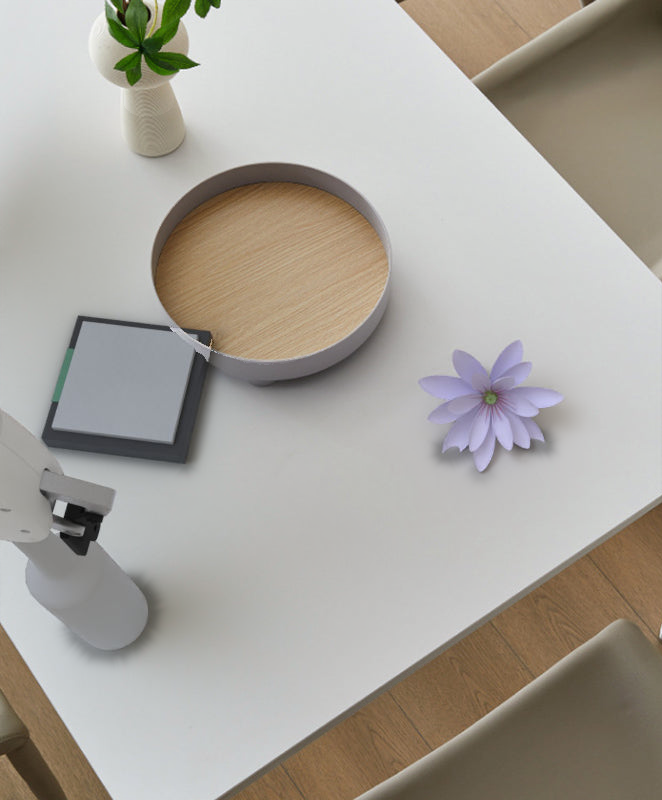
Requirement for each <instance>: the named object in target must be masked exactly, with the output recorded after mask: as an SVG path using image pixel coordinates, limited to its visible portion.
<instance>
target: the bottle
mask: <svg viewBox="0 0 662 800" xmlns="http://www.w3.org/2000/svg"><path fill="white" fill-rule="evenodd" d="M8 542H9V543H12V544H13V545H14V546H15V547H16V548H17V549H18V550H19V551H20V552H21V553H22V554H23V555H25V556H26V558H27V562H26V566H25V569H24V579H25V580H24V581H25V585H26V587H27V590H28V592H29V594H30V595H31V596H32V597H33V598H34V600H35V601H37V603H39V604H40V606H42V607H43V608H44V609H45V610H47V611H48V612H49V613H50V614H51V615H53V616H54V618H56V619H57V620H59V622H61V623H62V624H63V625H65V626H66V627H67V628H68V629H70V631H72V632H73V633H74V634H76V635H77V636H78V637H79V638H80V639H82V640H83V641H84V642H85V643H87V644H88V645H90V646H91V647H93V648H95V649H98V650H102V651H117V650H121V649H123V648H125V647H128V646H129V645H131V644H132V643H133V642H135V641H136V640H137V639H138V638H139V637H140V635H141V634H142V633H143V631H144V630H145V627H146V625H147V623H148V619H149V604H148V601H147V598H146V597H145V595H144V593H143V591H142V590H141V589H140V588H139V587H138V585H137V584H136V583H135V581H133V580H132V578H130V576H129V575H128V574H127V573H126V572H125V570H123V568H122V567H121V566H120V565H119V564H118V563H117V562H116V561H115V560H114V559H113V557H112V556H110V554H109V553H108V552H107V551H106V550H105V549H104V548H103V546H102V545H101V544H100V543H99V542H98V541H97V540H96V541H90V544H89V548H88V552H87V554H86V556H79V555H76V554H75V553H74V552H73V551H72V550H71V549H70V548H69V547H68V546H67V545H66V543H65V542H64V541H63V540H62V539H61V538H60V532H56V533H54V532H53V531H52V529H51V530H50V532H49V535H48V537H46V538H45V539H43V540H41V541H38V542H31V543H26V542H14V541H8Z"/></svg>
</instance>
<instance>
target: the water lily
mask: <svg viewBox="0 0 662 800" xmlns="http://www.w3.org/2000/svg"><path fill="white" fill-rule="evenodd" d="M523 358H524V346H523V342H522V341H521V339H516V340H514V341H512V342H510V343H509V344H508V345H507V346H505V348H504V349H503V350H502V351H501V352H500V354H499V355H498V357H497V358H496V360H495V362H494V363H493V365H492V367H491V370H490V374H489V376H488V372H487V370H486V368H485V367H484V366H483V365H482V363H481V362H480V361H479V360H478V359H477V358H476V357H475V356H473V355H472V354H471V353H469V352H467V351H465V350H462V349H457V348H456V349H454V350H453V351H452V355H451V360H452V365H453V368H454V370H455V372H456V373H457V375H458V376H455V375H445V374H434V375H433V374H432V375H426V376H423V377H421V378H419V379H418V380H417V384H418V385H419V387H420V388H421V389H422V390H423V391H424V392H425V393H427V394H428V395H430V396H432V397H434V398H437V399H441V400H445V401H444V402H442V403H440V404H438V406H437V407H435V408H434V409H433V410H432V411H431V412H430V413H429V414H428V416H427V417H426V420H427V421H428V422H430V423H433V424H437V425H439V424H441V425H442V424H449V423H451V422H454V423H453V425H452V426H451V427H450V428H449V430H448V432H447V435H446V436H445V439H444V440H443V445H442V450H441V453H442V454H444V453H445V452H446V451H447V450H448V449H450V448H453V447H456V448H458V449H459V453H461V452H462V451H463V450H465V449H466V448H467V447H468V449H469V452H470V453H472V455H473V461H474V465H475V467H476V470H478V472H480V473H481V472H483V471H484V470H485V469H486V468H487V467H488V466H489V464H490V462H491V461H492V458H493V455H494V451H495V447H496V439H497V441H498V442H499V444H500V445H501V446H502V447H503V448H504V449H505V450H507V451H512V450H513V446H514V444H515V445H517V446H519V448H523V449H526V450H528V449H530V447H531V439H534V440H538V441H541V442H542V443H546V441H545V437H544V434H543V432H542V430H541V428H540V427H539V426H538V424H537V423H536V421H534V420H533V419H532V417H533V418H534V417H535V416H537V415H539V413H540V410H539V409H547V408H549V407H554V406H556V405H558V404H559V403H561V402H563V400H564V399H565V396H564V395H563V394H562V393H560V392H559V391H557V390H554V389H551V388H548V387H541V386H519V385H521V384H522V383H523V382H524V381H526V380H527V378H528V377H529V375H530V373H531V372H532V368H533V363H532V361H522V360H523Z"/></svg>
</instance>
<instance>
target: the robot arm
mask: <svg viewBox="0 0 662 800" xmlns="http://www.w3.org/2000/svg"><path fill="white" fill-rule="evenodd" d="M116 494H117V490H115V489H114V488H112V487H108V486H105V485H101V484H98V483H94V482H89V481H86V480H84V479H79V478H75V477H71V476H68V475H65V473H64V469H63V468H62V466H61V464H60V463H59V462H58V460H57V459H56V457H55V456H54V455H53V453H51V451H50V450H49V449H48V447H46V446H45V445H44V443H42V442H41V441H40V440H39V439H38V438H37V437H36V436H35V435H34V434H33V433H32V432H31V431H30V430H28V428H26V427H25V426H24V425H23V424H22V423H21V422H19V421H18V420H17V419H15V418H14V417H13V416H11V415H10V414H9V413H7V412H6V411H5V410H3V409H2V408H0V541H6V542H9V541H14V542H26V543H31V542H38V541H41V540H43V539H45V538H46V537H48V535H49V532H50V530H51V531H52V530H56V531H58V532H59V533H60V538H61V539H62V540H63V541H64V542H65V543H66V545H67V546H68V547H69V548H70V549H71V550H72V551H73V552H74V553H75V554H76V555H79V556H86V554H87V552H88V548H89V544H90V541H96V542H97V540H98V539H99V536H100V535H99V534H100V531H101V526H102V523H104V518H105V517H107V516H108V515H109V514H110V513H111V512H112V509H113V506H114V502H115V498H116ZM57 501H60V502H64V503H66V506H65V510H64V514H63V517H62V516H59V515H58V514H54V510H55V506H56V503H57Z"/></svg>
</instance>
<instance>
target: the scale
mask: <svg viewBox="0 0 662 800" xmlns="http://www.w3.org/2000/svg"><path fill="white" fill-rule="evenodd" d="M169 326H170V325H161V324H154V323H146V322H138V321H128V320H120V319H113V318H104V317H96V316H95V317H94V316H86V315H77V318H76V322H75V324H74V328H73V331H72V334H71V336H70V337H71V338H70V341H69V344H68V346H67V348H66V351H65V355H64V358H63V362H62V365H61V368H60V370H59V374H58V378H57V380H56V384H55V389H54V390H53V394H52V398H51V404H50V407H49V410H48V414H47V417H46V420H45V424H44V427H43V430H42V433H41V437H40V440H42V441H43V444H45V445H46V446H47V448H54V449H62V450H69V451H79V452H84V453H85V452H86V453H95V454H101V455H110V456H117V457H118V456H119V457H127V458H134V459H142V460H149V461H159V462H166V463H175V464H181V465H185V464H186V462H187V458H188V453H189V450H190V449H189V448H190V445H191V441H192V436H193V432H194V429H195V424H196V419H197V415H198V411H199V406H200V402H201V398H202V393H203V389H204V384H205V380H206V377H207V372H208V368H209V363H210V361H209V362H207V361H206V359H205V357H204V356H203V355H202V354H200V353H198V352H196V350H195V348H194V347H193V346H192V345H190V344H189V343H187V342H186V341H185V340H183V339H182V338H181V337H180V336H179V335H178V334H177V333H176V332H173V331H172V330H171V329H170V327H169ZM180 328H181V329H182V330H183V331H184V332H186V333H187V334H188V335H189V336H190V337H192V338H193V339H195V340H197V341H199V342H201V343H202V344H204V345H206V346H208V347H209V346H210V343H211V339H212V338H213V334H212V332H211V331H210V330H203V329H195V328H188V327H180ZM213 341H214V340H213ZM213 341H212V342H213ZM213 343H214V342H213ZM211 346H212V345H211Z"/></svg>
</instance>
